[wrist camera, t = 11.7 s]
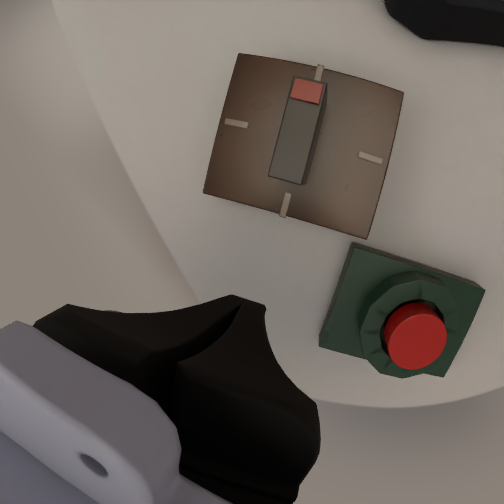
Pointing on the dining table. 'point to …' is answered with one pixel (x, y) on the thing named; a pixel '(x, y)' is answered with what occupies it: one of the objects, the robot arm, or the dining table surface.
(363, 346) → the button box
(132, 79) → the dining table surface
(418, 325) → the button
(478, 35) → the arcade joystick
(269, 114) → the panel
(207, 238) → the dining table surface
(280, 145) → the handle
